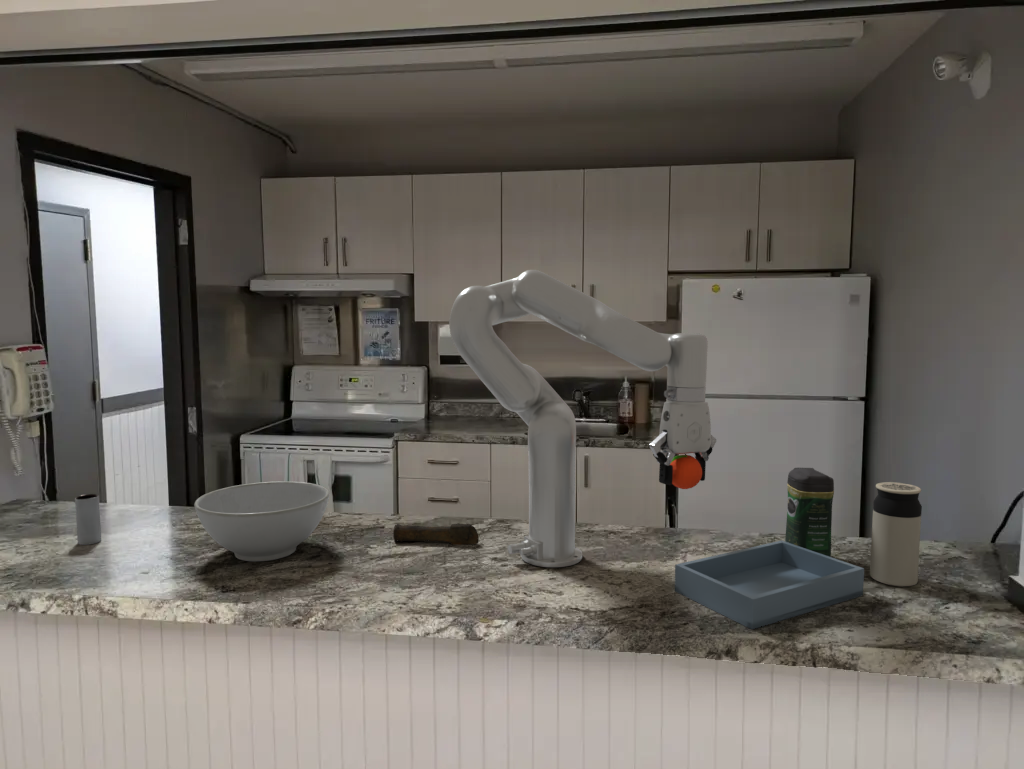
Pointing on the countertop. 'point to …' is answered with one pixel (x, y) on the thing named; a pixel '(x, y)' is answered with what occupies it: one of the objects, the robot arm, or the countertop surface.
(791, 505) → the coffee jar
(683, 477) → the clementine
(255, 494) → the decorative bowl
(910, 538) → the travel mug
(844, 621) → the countertop surface
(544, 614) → the countertop surface
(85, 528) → the gray cylinder
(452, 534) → the hand tool
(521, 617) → the countertop surface
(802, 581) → the bin
